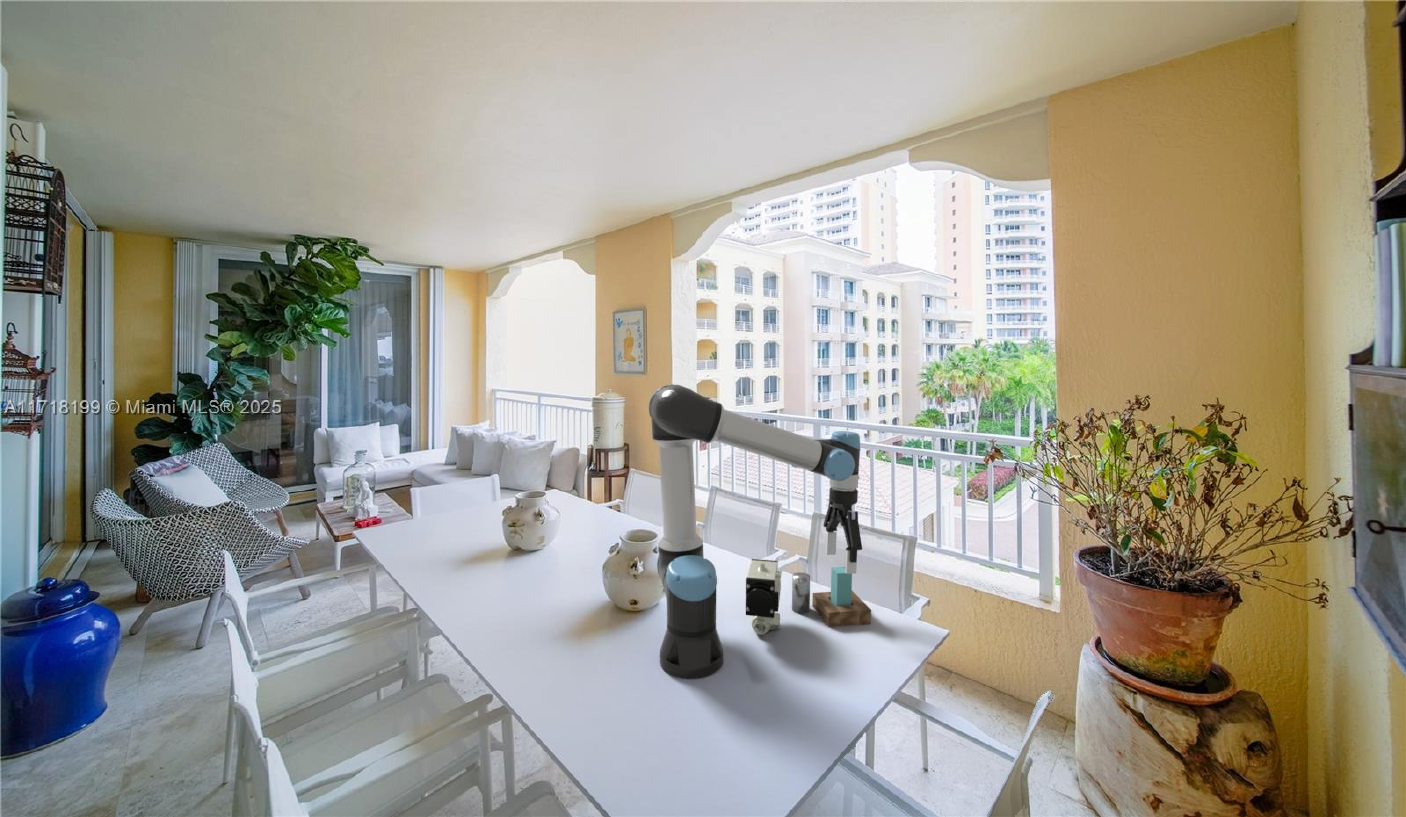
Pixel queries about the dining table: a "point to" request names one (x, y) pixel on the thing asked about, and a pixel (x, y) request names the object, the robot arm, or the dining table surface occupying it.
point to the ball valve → (763, 595)
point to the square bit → (840, 586)
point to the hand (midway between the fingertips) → (840, 563)
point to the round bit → (801, 593)
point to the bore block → (841, 610)
